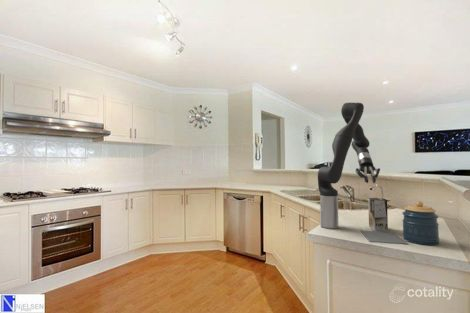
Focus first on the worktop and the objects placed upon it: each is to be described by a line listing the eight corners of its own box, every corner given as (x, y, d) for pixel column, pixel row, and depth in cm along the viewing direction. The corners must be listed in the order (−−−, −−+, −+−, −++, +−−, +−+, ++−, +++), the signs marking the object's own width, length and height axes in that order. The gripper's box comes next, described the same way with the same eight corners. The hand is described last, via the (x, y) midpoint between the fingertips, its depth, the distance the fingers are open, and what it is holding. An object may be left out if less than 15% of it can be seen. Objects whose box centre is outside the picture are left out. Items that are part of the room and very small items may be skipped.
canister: (428, 247, 99) (427, 204, 99) (396, 238, 111) (395, 200, 111) (446, 243, 104) (444, 202, 105) (413, 234, 116) (412, 198, 117)
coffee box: (388, 232, 121) (387, 200, 121) (374, 231, 122) (373, 200, 123) (381, 227, 130) (380, 197, 130) (368, 226, 131) (367, 197, 131)
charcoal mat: (369, 241, 107) (369, 240, 107) (360, 231, 123) (360, 230, 123) (408, 244, 103) (408, 243, 103) (393, 233, 119) (393, 232, 119)
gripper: (353, 157, 149) (358, 177, 137) (378, 156, 146) (386, 178, 134) (352, 165, 154) (356, 186, 142) (376, 165, 151) (383, 186, 139)
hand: (370, 182), depth 138 cm, fingers open, 3 cm apart
